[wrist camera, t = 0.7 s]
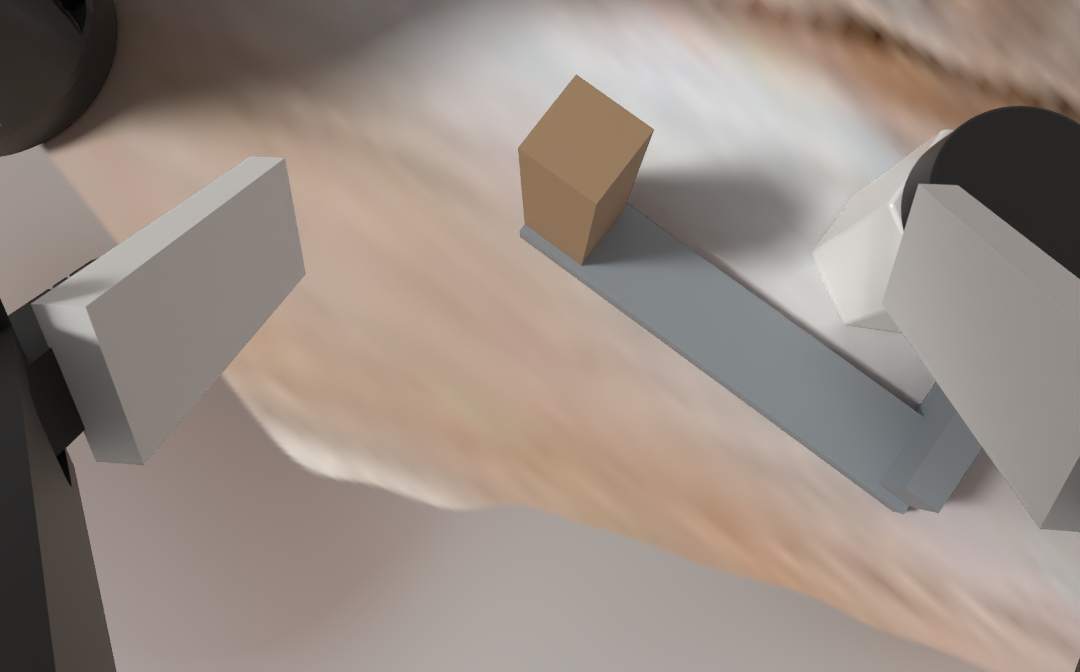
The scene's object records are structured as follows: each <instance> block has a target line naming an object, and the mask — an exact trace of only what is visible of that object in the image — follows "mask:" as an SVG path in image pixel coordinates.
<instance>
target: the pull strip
mask: <svg viewBox="0 0 1080 672" xmlns="http://www.w3.org/2000/svg"><path fill="white" fill-rule="evenodd" d="M653 131H654V129H653V128H651V127H650V126H648V125H647V124H646V123H644V122H643V121H641V120H640V119H638V118H637V117H636V116H634V115H633V114H631V113H630V112H629V111H627V110H626V109H624V108H623V107H622V106H620V105H619V104H617V103H616V102H614V101H613V100H612V99H610V98H609V97H607V96H606V95H605V94H603V93H602V92H600V91H599V90H597V89H596V88H595V87H593V86H592V85H590V84H589V83H588V82H586V81H585V80H583V79H582V78H581V77H579V76H578V75H575V77H574V78H573V79H572V80H571V82H570V83H569V84H568V85H567V87H566V88H565V89H564V91H563V92H562V93H561V94H560V96H559V97H558V98H557V99H556V101H555V102H554V103H553V104H552V106H551V107H550V108H549V110H548V111H547V112H546V113H545V115H544V116H543V117H542V118H541V120H540V121H539V122H538V123H537V125H536V126H535V127H534V128H533V130H532V131H531V132H530V134H529V135H528V136H527V137H526V139H525V140H524V141H523V142H522V144H521V145H520V146H519V147H518V152H519V163H520V175H521V186H522V197H523V208H524V220H525V225H524V226H523V227H522V229H521V230H520V237H521V238H523V239H524V240H525V241H527V242H528V243H529V244H531V245H532V246H533V247H535V248H536V249H538V250H539V251H540V252H542V253H543V254H544V255H546V256H547V257H548V258H550V259H551V260H552V261H554V262H555V263H557V264H558V265H559V266H561V267H562V268H563V269H565V270H566V271H567V272H569V273H570V274H571V275H573V276H574V277H576V278H577V279H578V280H580V281H581V282H582V283H584V284H585V285H586V286H588V287H589V288H590V289H592V290H593V291H595V292H596V293H597V294H599V295H600V296H601V297H603V298H604V299H605V300H607V301H608V302H609V303H611V304H612V305H614V306H615V307H616V308H618V309H619V310H620V311H622V312H623V313H624V314H626V315H627V316H628V317H630V318H631V319H633V320H634V321H635V322H637V323H638V324H639V325H641V326H642V327H643V328H645V329H646V330H648V331H649V332H650V333H652V334H653V335H654V336H656V337H657V338H658V339H660V340H661V341H662V342H664V343H665V344H667V345H668V346H669V347H671V348H672V349H673V350H675V351H676V352H677V353H679V354H680V355H681V356H683V357H684V358H686V359H687V360H688V361H690V362H691V363H692V364H694V365H695V366H696V367H698V368H699V369H700V370H702V371H703V372H705V373H706V374H707V375H709V376H710V377H711V378H713V379H714V380H715V381H717V382H718V383H719V384H721V385H722V386H724V387H725V388H726V389H728V390H729V391H730V392H732V393H733V394H734V395H736V396H737V397H738V398H740V399H741V400H743V401H744V402H745V403H747V404H748V405H749V406H751V407H752V408H753V409H755V410H756V411H757V412H759V413H760V414H762V415H763V416H764V417H766V418H767V419H768V420H770V421H771V422H772V423H774V424H775V425H776V426H778V427H779V428H781V429H782V430H783V431H785V432H786V433H787V434H789V435H790V436H791V437H793V438H794V439H796V440H797V441H798V442H800V443H801V444H802V445H804V446H805V447H806V448H808V449H809V450H810V451H812V452H813V453H815V454H816V455H817V456H819V457H820V458H821V459H823V460H824V461H825V462H827V463H828V464H829V465H831V466H832V467H834V468H835V469H836V470H838V471H839V472H840V473H842V474H843V475H844V476H846V477H847V478H848V479H850V480H851V481H853V482H854V483H855V484H857V485H858V486H859V487H861V488H862V489H863V490H865V491H866V492H867V493H869V494H870V495H872V496H873V497H874V498H876V499H877V500H878V501H880V502H881V503H882V504H884V505H885V506H886V507H888V508H889V509H891V510H892V511H894V512H898V513H902V514H904V513H905V512H906V510H907V509H908V507H914V508H918V509H923V510H927V511H932V512H936V513H939V512H940V510H941V509H942V507H943V506H944V504H945V503H946V501H947V500H948V498H949V497H950V495H951V494H952V492H953V491H954V489H955V488H956V486H957V485H958V483H959V482H960V480H961V479H962V477H963V476H964V474H965V473H966V471H967V470H968V468H969V467H970V465H971V464H972V462H973V461H974V459H975V458H976V456H977V455H978V453H979V452H980V450H981V449H982V446H981V445H980V443H979V442H978V440H977V439H976V437H975V436H974V435H973V433H972V432H971V430H970V429H969V427H968V426H967V425H966V423H965V422H964V420H963V419H962V418H961V416H960V415H959V413H958V412H957V410H956V409H955V408H954V406H953V405H952V403H951V402H950V400H949V399H948V398H947V396H946V395H945V393H944V392H943V390H942V389H941V388H940V386H939V385H938V383H937V382H936V383H935V384H934V386H933V387H932V389H931V390H930V392H929V393H928V395H927V396H926V398H925V399H924V401H923V402H922V403H921V405H920V406H919V408H918V409H917V411H915V410H914V409H912V408H911V407H909V406H908V405H907V404H905V403H904V402H902V401H901V400H900V399H898V398H897V397H896V396H894V395H893V394H891V393H890V392H889V391H887V390H886V389H884V388H883V387H882V386H880V385H879V384H878V383H876V382H875V381H873V380H872V379H871V378H869V377H868V376H866V375H865V374H864V373H862V372H861V371H859V370H858V369H857V368H855V367H854V366H853V365H851V364H850V363H848V362H847V361H846V360H844V359H843V358H841V357H840V356H839V355H837V354H836V353H834V352H833V351H832V350H830V349H829V348H828V347H826V346H825V345H823V344H822V343H821V342H819V341H818V340H816V339H815V338H814V337H812V336H811V335H810V334H808V333H807V332H805V331H804V330H803V329H801V328H800V327H798V326H797V325H796V324H794V323H793V322H791V321H790V320H789V319H787V318H786V317H785V316H783V315H782V314H780V313H779V312H778V311H776V310H775V309H773V308H772V307H771V306H769V305H768V304H766V303H765V302H764V301H762V300H761V299H760V298H758V297H757V296H755V295H754V294H753V293H751V292H750V291H748V290H747V289H746V288H744V287H743V286H742V285H740V284H739V283H737V282H736V281H735V280H733V279H732V278H730V277H729V276H728V275H726V274H725V273H723V272H722V271H721V270H719V269H718V268H717V267H715V266H714V265H712V264H711V263H710V262H708V261H707V260H705V259H704V258H703V257H701V256H700V255H698V254H697V253H696V252H694V251H693V250H692V249H690V248H689V247H687V246H686V245H685V244H683V243H682V242H680V241H679V240H678V239H676V238H675V237H674V236H672V235H671V234H669V233H668V232H667V231H665V230H664V229H662V228H661V227H660V226H658V225H657V224H655V223H654V222H653V221H651V220H650V219H649V218H647V217H646V216H644V215H643V214H642V213H640V212H639V211H637V210H636V209H635V208H633V207H632V206H631V205H629V204H628V203H626V202H627V200H628V197H629V194H630V192H631V189H632V187H633V184H634V181H635V179H636V176H637V173H638V171H639V168H640V165H641V163H642V160H643V157H644V155H645V152H646V149H647V147H648V144H649V142H650V139H651V136H652V134H653Z"/></svg>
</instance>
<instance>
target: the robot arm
mask: <svg viewBox="0 0 1080 672" xmlns="http://www.w3.org/2000/svg"><path fill="white" fill-rule="evenodd" d="M116 31H117V26H116V15H115V9H114V4H113V0H0V156H6V155H11V154H14V153H18V152H21V151H24V150H27V149H30V148H32V147H34V146H37V145H39V144H41V143H43V142H45V141H47V140H49V139H50V138H52V137H54V136H55V135H57V134H58V133H60V132H61V131H62V130H64V129H65V128H66V127H68V126H69V125H70V124H71V123H72V122H73V121H74V120H76V119H77V118H78V117H79V116H80V115H81V114H82V112H83V111H84V110H85V109H86V108H87V107H88V106H89V104H90V103H91V102H92V100H93V99H94V98H95V96H96V95H97V93H98V91H99V90H100V88H101V86H102V84H103V82H104V80H105V78H106V76H107V74H108V71H109V69H110V66H111V63H112V59H113V55H114V51H115V45H116ZM305 274H306V273H305V268H304V262H303V256H302V251H301V245H300V240H299V234H298V228H297V223H296V217H295V211H294V206H293V200H292V195H291V189H290V183H289V178H288V172H287V167H286V161H285V158H278V157H254V156H250V157H249V158H247V159H246V160H244V161H243V162H241V163H240V164H238V165H237V166H235V167H234V168H232V169H231V170H229V171H228V172H226V173H225V174H223V175H222V176H220V177H219V178H217V179H216V180H214V181H213V182H211V183H210V184H208V185H207V186H205V187H204V188H202V189H201V190H199V191H198V192H196V193H195V194H193V195H192V196H190V197H189V198H187V199H186V200H184V201H183V202H181V203H180V204H178V205H177V206H176V207H174V208H173V209H171V210H170V211H168V212H167V213H165V214H164V215H162V216H161V217H159V218H158V219H156V220H155V221H153V222H152V223H150V224H149V225H147V226H146V227H144V228H143V229H141V230H140V231H138V232H137V233H135V234H134V235H132V236H131V237H129V238H128V239H126V240H125V241H123V242H122V243H120V244H119V245H117V246H116V247H114V248H113V249H112V250H110V251H109V252H107V253H105V254H104V255H103V256H101V257H99V258H97V259H94V260H92V261H90V262H88V263H87V264H85V265H84V266H82V267H81V268H79V269H78V270H76V271H75V272H73V273H72V274H70V278H64V279H63V280H61V281H60V282H58V283H57V284H55V285H54V286H53V289H48V290H46V291H45V292H43V293H42V294H40V295H39V296H37V297H36V298H34V299H33V300H31V301H30V302H28V303H27V304H25V305H24V306H22V307H21V308H19V309H18V310H16V311H15V312H13V313H12V314H10V315H9V316H8V315H7V313H6V311H5V308H4V306H3V304H2V302H1V299H0V672H116V668H115V663H114V658H113V653H112V648H111V643H110V638H109V633H108V629H107V624H106V619H105V614H104V609H103V604H102V600H101V594H100V590H99V585H98V580H97V575H96V570H95V565H94V561H93V556H92V551H91V546H90V542H89V536H88V531H87V527H86V522H85V517H84V512H83V508H82V502H81V497H80V493H79V488H78V483H77V478H76V473H75V468H74V465H73V463H72V461H71V458H70V456H69V454H68V452H67V449H66V447H67V446H68V445H69V444H70V443H71V442H72V441H73V440H74V439H76V438H77V436H78V435H80V434H81V433H82V432H83V431H84V434H85V436H86V438H87V441H88V443H89V446H90V448H91V450H92V453H93V455H94V458H95V460H96V462H108V463H123V464H137V465H145V463H146V462H147V461H148V459H150V457H151V456H152V455H153V454H154V453H155V451H156V450H157V449H158V448H159V447H160V446H161V444H162V443H163V442H164V441H165V440H166V439H167V437H168V436H169V435H170V434H171V433H172V431H173V430H174V429H175V428H176V427H177V426H178V424H179V423H180V422H181V421H182V420H183V418H184V417H185V416H186V415H187V414H188V412H189V411H190V410H191V409H192V408H193V407H194V405H195V404H196V403H197V402H198V401H199V400H200V398H201V397H202V396H203V395H204V394H205V392H206V391H207V390H208V389H209V388H210V387H211V385H212V384H213V383H214V382H215V381H216V379H217V378H218V377H219V376H220V375H221V374H222V372H223V371H224V370H225V369H226V368H227V366H228V365H229V364H230V363H231V362H232V361H233V359H234V358H235V357H236V356H237V355H238V353H239V352H240V351H241V350H242V349H243V348H244V346H245V345H246V344H247V343H248V342H249V340H250V339H251V338H252V337H253V336H254V334H255V333H256V332H257V331H258V330H259V329H260V327H261V326H262V325H263V324H264V323H265V321H266V320H267V319H268V318H269V317H270V316H271V314H272V313H273V312H274V311H275V310H276V308H277V307H278V306H279V305H280V304H281V303H282V301H283V300H284V299H285V298H286V297H287V295H288V294H289V293H290V292H291V291H292V290H293V288H294V287H295V286H296V285H297V284H298V282H299V281H300V280H301V279H302V278H303V277H304V275H305ZM882 305H883V307H884V308H885V309H886V311H887V312H888V314H889V315H890V317H891V318H892V319H893V321H894V322H895V324H896V325H897V326H898V328H899V329H900V331H901V332H902V334H903V335H904V336H905V338H906V339H907V341H908V342H909V344H910V345H911V346H912V348H913V349H914V351H915V352H916V353H917V355H918V356H919V358H920V359H921V361H922V362H923V363H924V365H925V366H926V368H927V369H928V371H929V372H930V373H931V375H932V376H933V378H934V379H935V381H936V382H937V383H938V385H939V386H940V388H941V389H942V390H943V392H944V393H945V395H946V396H947V398H948V399H949V400H950V402H951V403H952V405H953V406H954V408H955V409H956V410H957V412H958V413H959V415H960V416H961V418H962V419H963V420H964V422H965V423H966V425H967V426H968V427H969V429H970V430H971V432H972V433H973V435H974V436H975V437H976V439H977V440H978V442H979V443H980V445H981V446H982V447H983V449H984V450H985V452H986V453H987V455H988V456H989V457H990V459H991V460H992V462H993V463H994V464H995V466H996V467H997V469H998V470H999V472H1000V473H1001V474H1002V476H1003V477H1004V479H1005V480H1006V482H1007V483H1008V484H1009V486H1010V487H1011V489H1012V490H1013V492H1014V493H1015V494H1016V496H1017V497H1018V499H1019V500H1020V501H1021V503H1022V504H1023V506H1024V507H1025V509H1026V510H1027V511H1028V513H1029V514H1030V516H1031V517H1032V519H1033V520H1034V521H1035V523H1036V524H1037V526H1038V527H1039V528H1040V529H1050V530H1064V531H1078V532H1080V279H1079V278H1077V277H1076V276H1075V275H1074V274H1072V273H1071V272H1070V271H1068V270H1067V269H1066V268H1064V267H1063V266H1062V265H1061V264H1059V263H1058V262H1057V261H1055V260H1054V259H1053V258H1051V257H1050V256H1049V255H1048V254H1046V253H1045V252H1044V251H1042V250H1041V249H1040V248H1039V247H1037V246H1036V245H1035V244H1033V243H1032V242H1031V241H1029V240H1028V239H1027V238H1026V237H1024V236H1023V235H1022V234H1020V233H1019V232H1018V231H1017V230H1015V229H1014V228H1013V227H1011V226H1010V225H1009V224H1007V223H1006V222H1005V221H1004V220H1002V219H1001V218H1000V217H998V216H997V215H996V214H995V213H993V212H992V211H991V210H989V209H988V208H987V207H985V206H984V205H983V204H982V203H980V202H979V201H978V200H976V199H975V198H974V197H972V196H971V195H970V194H969V193H967V192H966V191H965V190H963V189H962V188H961V187H960V186H958V185H940V184H918V187H917V190H916V194H915V197H914V200H913V203H912V207H911V210H910V213H909V216H908V220H907V223H906V226H905V229H904V233H903V236H902V239H901V242H900V246H899V249H898V252H897V255H896V259H895V262H894V265H893V268H892V272H891V275H890V278H889V281H888V285H887V288H886V291H885V295H884V298H883V301H882ZM1075 672H1080V659H1079V661H1078V664H1077V667H1076V670H1075Z"/></svg>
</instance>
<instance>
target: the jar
mask: <svg viewBox="0 0 1080 672" xmlns="http://www.w3.org/2000/svg"><path fill="white" fill-rule="evenodd" d="M918 184H940V185H958V186H960V187H961V188H962V189H963V190H965V191H966V192H967V193H969V194H970V195H971V196H972V197H974V198H975V199H976V200H978V201H979V202H980V203H982V204H983V205H984V206H985V207H987V208H988V209H989V210H991V211H992V212H993V213H995V214H996V215H997V216H998V217H1000V218H1001V219H1002V220H1004V221H1005V222H1006V223H1007V224H1009V225H1010V226H1011V227H1013V228H1014V229H1015V230H1017V231H1018V232H1019V233H1020V234H1022V235H1023V236H1024V237H1026V238H1027V239H1028V240H1029V241H1031V242H1032V243H1033V244H1035V245H1036V246H1037V247H1039V248H1040V249H1041V250H1042V251H1044V252H1045V253H1046V254H1048V255H1049V256H1050V257H1051V258H1053V259H1054V260H1055V261H1057V262H1058V263H1059V264H1061V265H1062V266H1063V267H1064V268H1066V269H1067V270H1068V271H1070V272H1071V273H1072V274H1074V275H1075V276H1076V277H1077V278H1079V279H1080V124H1079V123H1077V122H1075V121H1074V120H1072V119H1070V118H1068V117H1066V116H1064V115H1061V114H1059V113H1056V112H1053V111H1050V110H1046V109H1042V108H1037V107H1030V106H1009V107H1002V108H998V109H993V110H990V111H987V112H984V113H982V114H980V115H977V116H975V117H973V118H972V119H970V120H968V121H967V122H965V123H964V124H962V125H961V126H959V127H958V128H957V129H955V130H950V129H944V130H941V131H940V132H939V133H937V134H936V135H935V136H933V137H932V138H930V139H929V140H928V141H926V142H925V143H924V144H922V145H921V146H920V147H918V148H917V149H916V150H914V151H913V152H911V153H910V154H909V155H907V156H906V157H905V158H903V159H902V160H901V161H899V162H898V163H897V164H895V165H894V166H893V167H891V168H890V169H888V170H887V171H886V172H884V173H883V174H882V175H880V176H879V177H878V178H876V179H875V180H874V181H872V182H871V183H869V184H868V185H867V186H865V187H864V188H863V189H861V190H860V191H859V192H857V193H856V194H855V195H854V196H853V197H852V198H851V200H850V201H849V202H848V204H847V205H846V206H845V208H844V209H843V210H842V212H841V213H840V214H839V216H838V217H837V218H836V220H835V221H834V223H833V224H832V225H831V227H830V228H829V229H828V231H827V232H826V233H825V235H824V236H823V237H822V239H821V240H820V241H819V243H818V244H817V245H816V247H815V248H814V249H813V251H812V253H811V255H812V258H813V260H814V262H815V264H816V266H817V268H818V270H819V273H820V275H821V277H822V279H823V281H824V283H825V285H826V288H827V290H828V292H829V294H830V296H831V298H832V300H833V302H834V305H835V307H836V309H837V311H838V313H839V315H840V317H841V319H842V322H843V323H844V324H845V325H849V326H857V327H865V328H873V329H880V330H888V331H895V332H901V331H900V329H899V328H898V326H897V325H896V324H895V322H894V321H893V319H892V318H891V317H890V315H889V314H888V312H887V311H886V309H885V308H884V307H883V305H882V301H883V298H884V295H885V291H886V288H887V285H888V281H889V278H890V275H891V272H892V268H893V265H894V262H895V259H896V255H897V252H898V249H899V246H900V242H901V239H902V236H903V233H904V229H905V226H906V223H907V220H908V216H909V213H910V210H911V207H912V203H913V200H914V197H915V194H916V190H917V187H918Z"/></svg>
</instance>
